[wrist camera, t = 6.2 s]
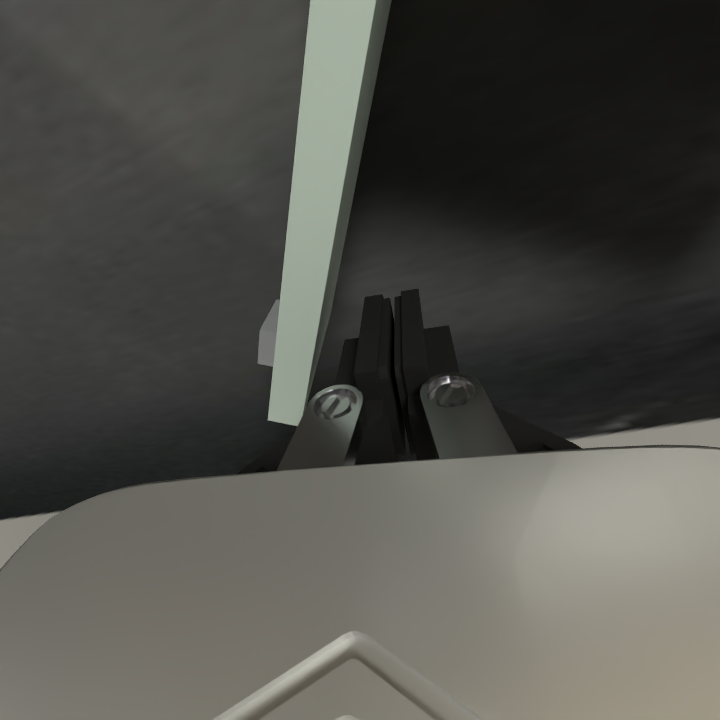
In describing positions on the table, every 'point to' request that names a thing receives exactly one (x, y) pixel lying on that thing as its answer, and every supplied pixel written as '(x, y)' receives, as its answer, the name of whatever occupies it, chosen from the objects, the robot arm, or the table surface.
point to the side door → (321, 190)
